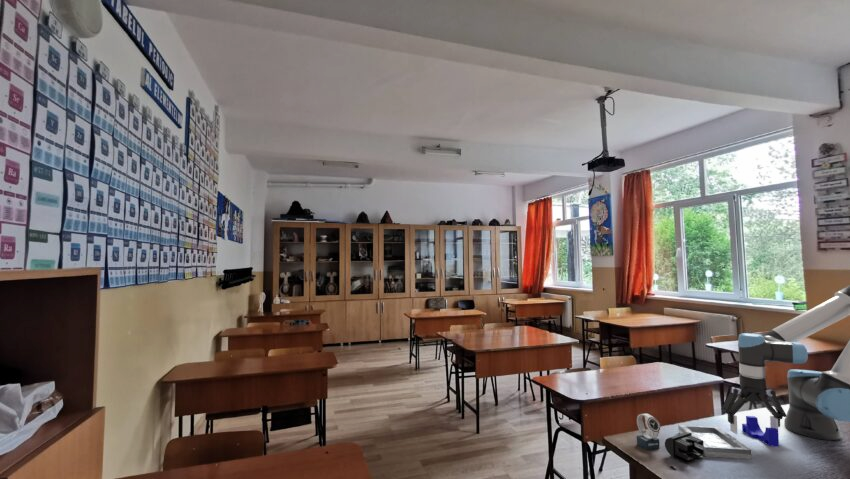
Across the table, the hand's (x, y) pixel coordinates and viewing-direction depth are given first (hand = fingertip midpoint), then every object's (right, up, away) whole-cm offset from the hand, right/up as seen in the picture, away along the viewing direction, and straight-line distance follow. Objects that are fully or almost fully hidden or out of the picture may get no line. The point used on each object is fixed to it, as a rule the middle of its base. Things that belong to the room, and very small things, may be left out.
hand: (754, 433), depth 142 cm
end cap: (-35, -1, -13) cm, 37 cm away
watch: (-43, -2, -6) cm, 43 cm away
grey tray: (-20, -1, -5) cm, 20 cm away
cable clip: (+2, -2, 0) cm, 3 cm away
